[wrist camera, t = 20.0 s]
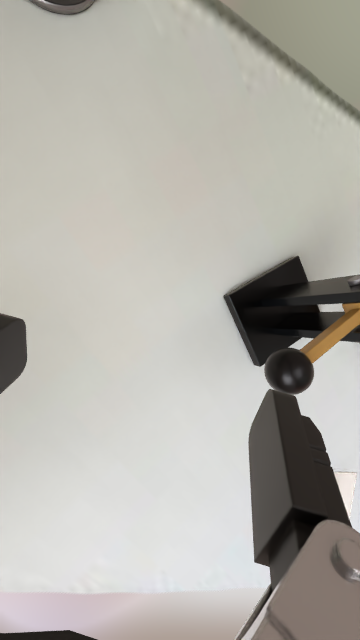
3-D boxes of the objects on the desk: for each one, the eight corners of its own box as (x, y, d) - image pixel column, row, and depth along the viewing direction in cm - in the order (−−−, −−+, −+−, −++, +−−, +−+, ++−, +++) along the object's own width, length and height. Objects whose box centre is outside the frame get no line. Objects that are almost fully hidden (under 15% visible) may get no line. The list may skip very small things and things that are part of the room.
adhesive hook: (319, 484, 43) (338, 497, 40) (332, 484, 43) (351, 497, 41) (315, 506, 42) (334, 520, 39) (329, 505, 43) (348, 519, 40)
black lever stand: (254, 365, 38) (360, 393, 24) (223, 296, 36) (319, 283, 23) (316, 322, 42) (439, 325, 28) (291, 257, 40) (409, 226, 26)
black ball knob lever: (265, 398, 24) (300, 409, 21) (248, 360, 23) (281, 366, 20) (361, 318, 30) (401, 316, 26) (350, 285, 29) (389, 280, 26)
